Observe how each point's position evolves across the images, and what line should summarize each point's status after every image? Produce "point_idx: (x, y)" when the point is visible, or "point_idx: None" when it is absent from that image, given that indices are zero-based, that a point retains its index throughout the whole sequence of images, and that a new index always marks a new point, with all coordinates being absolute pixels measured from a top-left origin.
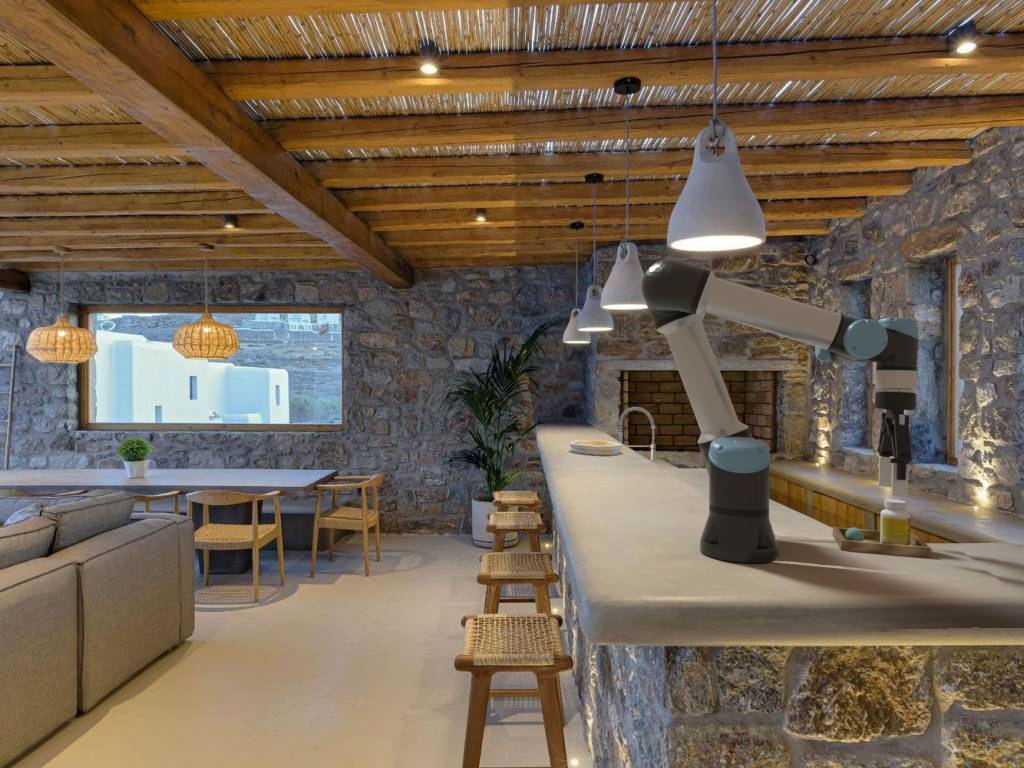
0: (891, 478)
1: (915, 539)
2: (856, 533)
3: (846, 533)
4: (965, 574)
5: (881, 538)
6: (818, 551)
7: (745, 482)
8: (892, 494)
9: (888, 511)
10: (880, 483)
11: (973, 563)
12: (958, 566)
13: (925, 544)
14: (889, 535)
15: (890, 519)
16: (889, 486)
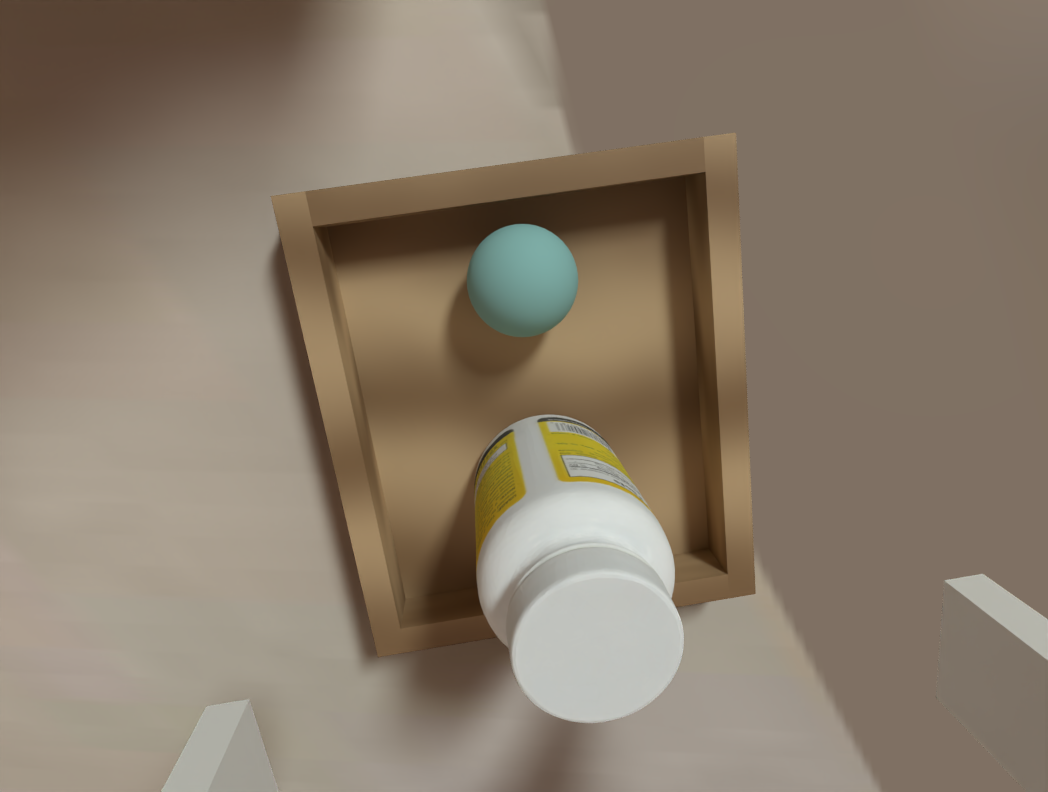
0: (1015, 765)
1: None
2: (475, 294)
3: (501, 229)
4: (196, 723)
5: (522, 432)
6: (249, 60)
7: None
8: (205, 717)
9: (524, 554)
10: (970, 611)
11: (444, 759)
12: (342, 708)
13: (460, 637)
14: (481, 485)
15: (481, 540)
16: (938, 673)
